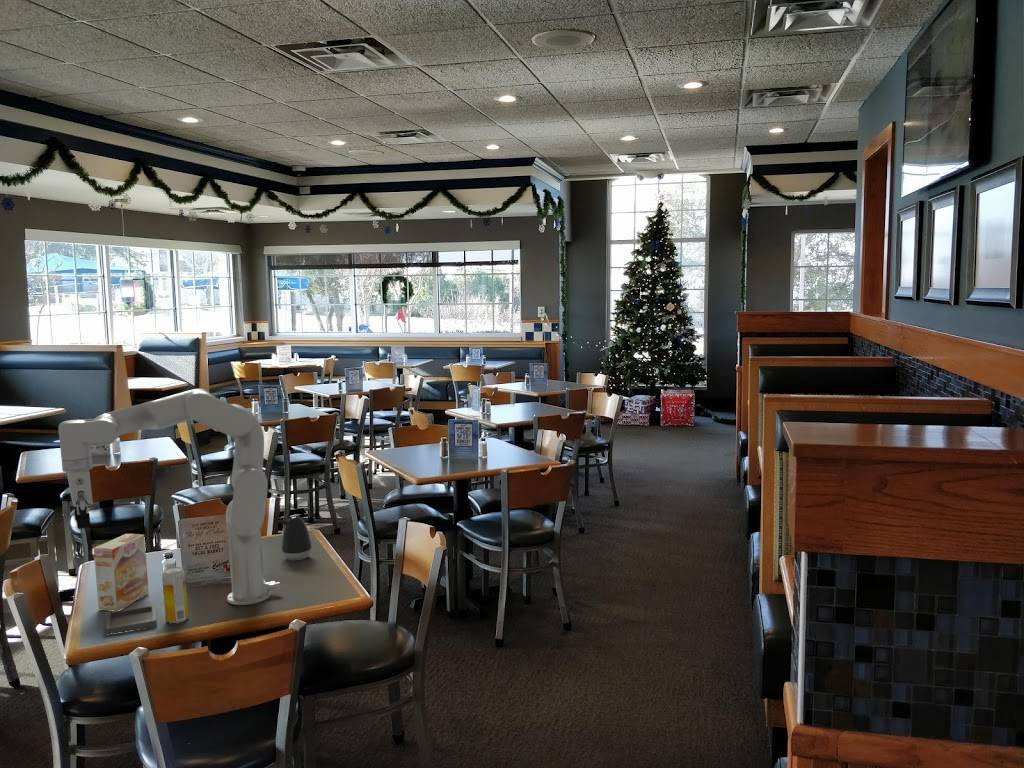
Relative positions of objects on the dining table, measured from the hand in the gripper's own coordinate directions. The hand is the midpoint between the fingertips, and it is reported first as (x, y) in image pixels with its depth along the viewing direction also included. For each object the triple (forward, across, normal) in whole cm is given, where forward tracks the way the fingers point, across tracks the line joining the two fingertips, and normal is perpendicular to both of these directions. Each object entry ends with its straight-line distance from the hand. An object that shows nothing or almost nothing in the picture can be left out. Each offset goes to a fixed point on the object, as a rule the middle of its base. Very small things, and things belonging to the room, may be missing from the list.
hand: (82, 523), depth 240 cm
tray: (+30, -4, -10) cm, 32 cm away
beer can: (+30, -10, -21) cm, 38 cm away
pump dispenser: (+30, +25, -66) cm, 77 cm away
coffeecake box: (+30, +15, -10) cm, 35 cm away
